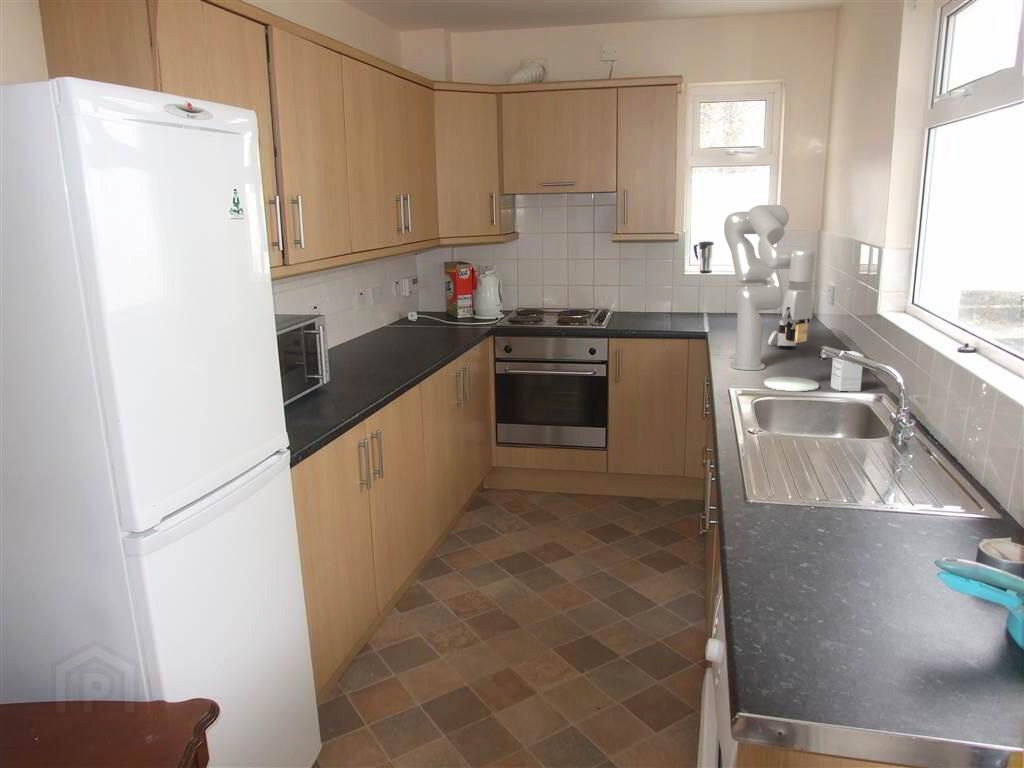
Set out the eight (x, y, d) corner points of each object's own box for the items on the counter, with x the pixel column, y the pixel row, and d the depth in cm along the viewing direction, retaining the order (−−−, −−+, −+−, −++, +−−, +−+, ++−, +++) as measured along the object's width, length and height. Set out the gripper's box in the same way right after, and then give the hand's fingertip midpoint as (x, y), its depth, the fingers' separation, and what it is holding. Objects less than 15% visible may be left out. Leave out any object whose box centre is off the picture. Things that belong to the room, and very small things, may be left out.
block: (784, 340, 263) (786, 323, 262) (794, 338, 266) (795, 321, 264) (796, 342, 259) (798, 325, 257) (806, 341, 261) (807, 323, 260)
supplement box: (850, 386, 265) (854, 350, 262) (860, 391, 258) (864, 354, 255) (829, 386, 265) (832, 351, 262) (839, 392, 258) (842, 355, 255)
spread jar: (797, 350, 327) (799, 323, 324) (769, 349, 329) (771, 322, 327) (792, 345, 339) (794, 318, 336) (766, 344, 341) (767, 318, 338)
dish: (752, 384, 270) (753, 381, 269) (786, 377, 279) (787, 374, 279) (795, 394, 255) (795, 391, 254) (829, 387, 264) (830, 384, 264)
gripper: (807, 283, 265) (802, 334, 270) (774, 287, 256) (769, 340, 261) (825, 285, 259) (820, 338, 263) (792, 289, 250) (788, 344, 255)
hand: (795, 338), depth 262 cm, fingers closed on block, 5 cm apart
